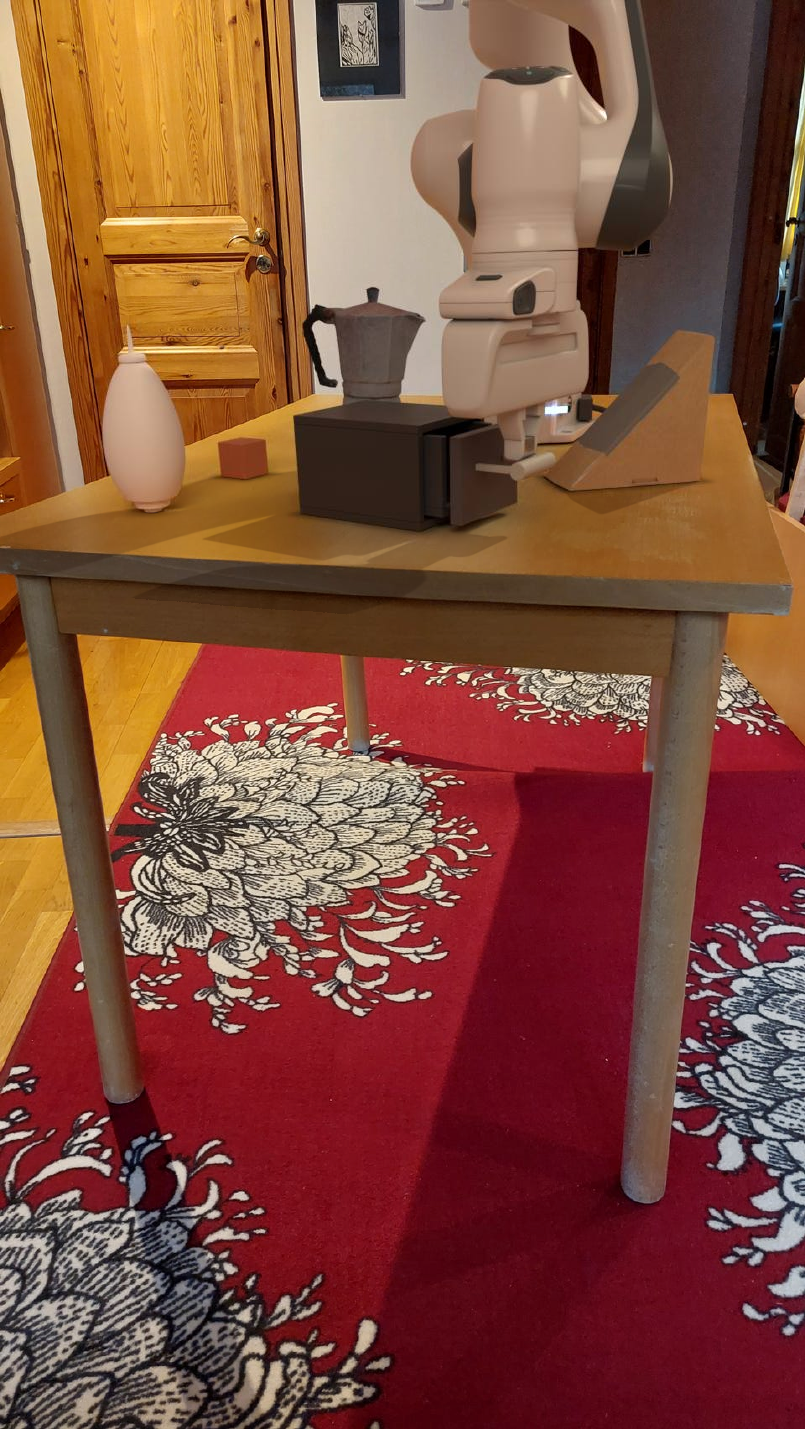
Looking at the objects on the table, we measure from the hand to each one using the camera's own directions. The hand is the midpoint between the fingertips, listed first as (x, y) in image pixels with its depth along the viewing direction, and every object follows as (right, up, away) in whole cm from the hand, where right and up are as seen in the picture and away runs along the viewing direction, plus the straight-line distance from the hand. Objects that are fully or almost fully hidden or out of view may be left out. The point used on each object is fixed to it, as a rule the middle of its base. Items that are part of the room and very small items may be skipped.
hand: (520, 457), depth 88 cm
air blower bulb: (-37, -2, +14) cm, 39 cm away
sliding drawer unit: (-6, -3, +6) cm, 9 cm away
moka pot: (-15, +9, +35) cm, 39 cm away
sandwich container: (+14, +3, +21) cm, 25 cm away
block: (-30, +5, +29) cm, 42 cm away
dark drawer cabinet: (-12, -2, +11) cm, 16 cm away
